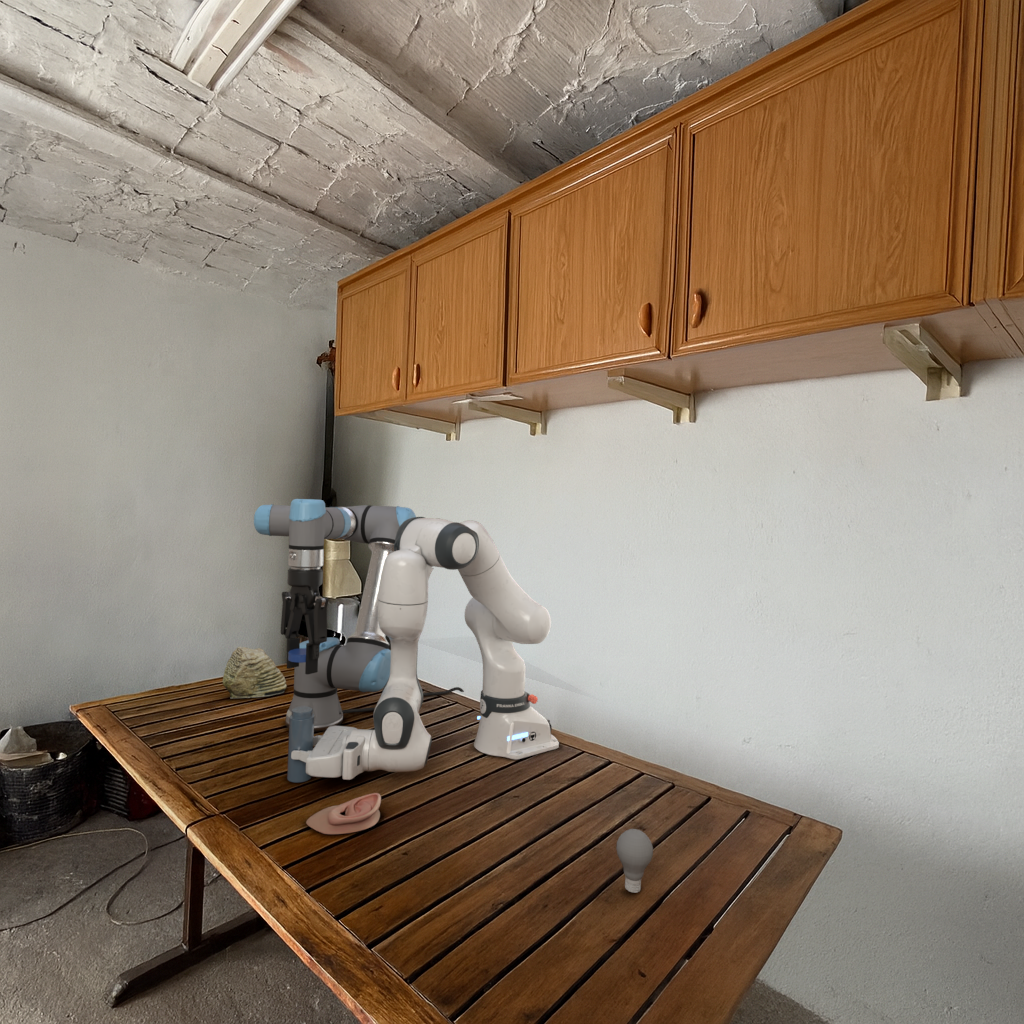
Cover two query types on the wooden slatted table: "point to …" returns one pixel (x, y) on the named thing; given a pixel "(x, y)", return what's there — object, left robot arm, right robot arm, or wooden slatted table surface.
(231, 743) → the wooden slatted table surface
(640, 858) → the light bulb
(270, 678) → the fossil
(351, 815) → the anatomical model
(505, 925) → the wooden slatted table surface
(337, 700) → the left robot arm
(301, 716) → the jar
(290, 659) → the lid
